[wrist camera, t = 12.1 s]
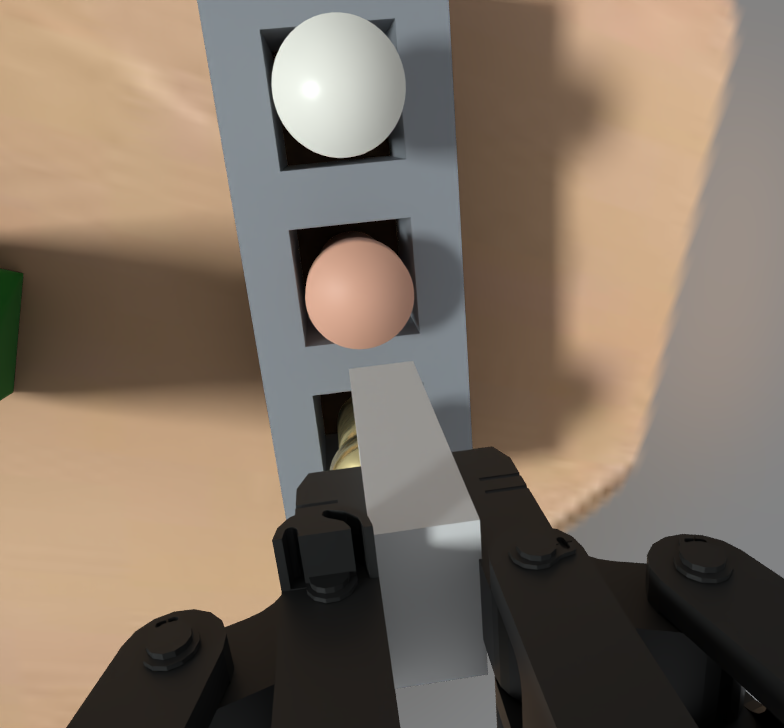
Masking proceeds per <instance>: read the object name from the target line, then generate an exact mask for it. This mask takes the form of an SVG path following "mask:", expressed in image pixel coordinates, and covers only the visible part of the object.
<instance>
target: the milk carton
mask: <svg viewBox="0 0 784 728" xmlns="http://www.w3.org/2000/svg"><path fill="white" fill-rule="evenodd" d="M22 285H23V273H19V272H15V271H10V270H6V269H1V268H0V400H2V399H4V398H5V397H7V396H8V395H10V394H11V393H13V389H14V377H15V366H16V354H17V342H18V331H19V319H20V308H21V296H22Z"/></svg>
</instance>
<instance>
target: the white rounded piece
mask: <svg viewBox="0 0 784 728" xmlns="http://www.w3.org/2000/svg"><path fill="white" fill-rule="evenodd" d="M405 94H406V81H405V73H404V69H403V65H402V62H401V59H400V57H399V54H398V52H397V51H396V49H395V47H394V45H393V44H392V42H391V41H390V40H389V38H388V37H387V36H386V35H385V34H384V33H383V32H382V31H381V30H380V29H379V28H378V27H376V26H375V25H374V24H372V23H371V22H369V21H368V20H366V19H363V18H361V17H359V16H356V15H352V14H349V13H341V12H331V13H325V14H320V15H317V16H314V17H312V18H310V19H308V20H306V21H304V22H303V23H301V24H300V25H298V26H297V27H296V28H295V29H294V30H293V31H292V32H291V33H290V34H289V35H288V36H287V37H286V39H285V40H284V42H283V43H282V45H281V47H280V49H279V51H278V53H277V55H276V58H275V62H274V65H273V71H272V95H273V100H274V104H275V107H276V110H277V113H278V115H279V117H280V119H281V121H282V123H283V124H284V126H285V127H286V129H287V130H288V131H289V133H290V134H291V135H292V136H293V137H294V138H295V139H296V140H297V141H298V142H299V143H301V144H302V145H303V146H305V147H306V148H308V149H310V150H311V151H313V152H316V153H318V154H321V155H324V156H328V157H335V158H348V157H354V156H358V155H361V154H364V153H366V152H368V151H370V150H372V149H374V148H375V147H377V146H378V145H379V144H381V143H382V142H383V141H384V140H385V139H386V138H387V137H388V136H389V135H390V133H391V132H392V131H393V129H394V128H395V126H396V124H397V122H398V120H399V118H400V116H401V113H402V110H403V106H404V102H405Z"/></svg>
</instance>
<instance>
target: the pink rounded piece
mask: <svg viewBox="0 0 784 728" xmlns="http://www.w3.org/2000/svg"><path fill="white" fill-rule="evenodd" d="M305 300H306V307H307V311H308V314H309V317H310V319H311V321H312V323H313V324H314V326H315V327H316V329H317V330H318V331H319V332H320V333H321V334H322V335H323V336H324V337H325V338H326V339H328V340H330V341H331V342H333V343H335V344H337V345H339V346H342V347H345V348H350V349H368V348H373V347H377V346H380V345H382V344H384V343H386V342H388V341H389V340H391V339H392V338H393V337H395V336H396V335H397V334H398V333H399V332H400V331H401V330H402V329H403V327H404V326H405V325H406V323H407V321H408V319H409V317H410V315H411V312H412V309H413V304H414V287H413V282H412V279H411V276H410V274H409V272H408V270H407V268H406V267H405V265H404V264H403V262H402V261H401V259H400V258H399V257H398V255H397V254H396V253H395V252H394V251H393V250H392V249H390V248H389V247H388V246H386V245H384V244H383V243H381V242H378V241H376V240H374V239H373V238H372V237H370V236H369V235H367V234H364V233H362V232H357V231H347V232H342V233H339V234H337V235H335V236H334V237H332V238H331V239H330V240H328V241H327V242H326V244H325V245H324V246H323V248H322V250H321V252H320V254H319V256H318V257H317V258H316V259H315V261H314V262H313V264H312V266H311V268H310V270H309V273H308V277H307V282H306V293H305Z"/></svg>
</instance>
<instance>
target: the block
mask: <svg viewBox="0 0 784 728" xmlns="http://www.w3.org/2000/svg"><path fill="white" fill-rule="evenodd" d="M197 3H198V8H199V14H200V20H201V26H202V32H203V37H204V43H205V49H206V55H207V61H208V67H209V72H210V78H211V84H212V90H213V96H214V102H215V107H216V113H217V119H218V125H219V131H220V136H221V142H222V148H223V154H224V160H225V166H226V171H227V177H228V183H229V189H230V195H231V200H232V206H233V212H234V218H235V224H236V230H237V235H238V241H239V247H240V253H241V259H242V265H243V270H244V276H245V282H246V288H247V294H248V299H249V305H250V311H251V317H252V323H253V329H254V334H255V340H256V346H257V352H258V358H259V364H260V369H261V375H262V381H263V387H264V393H265V398H266V404H267V410H268V416H269V422H270V428H271V433H272V439H273V445H274V451H275V457H276V463H277V468H278V474H279V480H280V486H281V492H282V497H283V503H284V509H285V515H286V520H287V519H288V518H290V517H292V516H294V515H295V509H296V491H297V488H298V486H299V485H300V484H301V483H302V481H303V480H304V479H305V477H306V476H307V475H308V473H314V472H321V471H329V470H330V466H331V463H332V460H333V458H334V456H335V454H336V452H337V451H338V450H339V443H338V433H335V434H328V435H325V428H324V421H323V414H322V406H321V399H320V395H322V394H330V393H338V392H346V391H351V383H350V375H349V369H353V368H361V367H369V366H377V365H385V364H393V363H401V362H409V361H413V362H414V365H415V367H416V370H417V372H418V374H419V377H420V379H421V381H422V384H423V386H424V389H425V391H426V393H427V396H428V398H429V400H430V403H431V405H432V408H433V410H434V412H435V415H436V417H437V419H438V422H439V424H440V426H441V429H442V431H443V434H444V436H445V438H446V441H447V443H448V445H449V448H450V450H451V452H456V451H463V450H470V449H473V448H472V429H471V411H470V392H469V373H468V354H467V335H466V317H465V298H464V279H463V260H462V241H461V223H460V204H459V185H458V166H457V147H456V129H455V110H454V91H453V72H452V53H451V35H450V16H449V0H197ZM331 12H341V13H349V14H352V15H356V16H359V17H361V18H363V19H366V20H368V21H369V22H371V23H372V24H374V25H375V26H376V27H378V28H379V29H380V30H381V31H382V32H383V33H384V34H385V35H386V36H387V37H388V38H389V40H390V41H391V42H392V44H393V45H394V47H395V49H396V51H397V52H398V54H399V57H400V59H401V62H402V65H403V69H404V73H405V81H406V94H405V102H404V106H403V110H402V113H401V116H400V118H399V120H398V122H397V124H396V126H395V128H394V129H393V131H392V132H391V133H390V135H389V136H388V140H389V152H390V156H380V157H370V158H359V159H349V160H339V161H329V162H319V163H309V164H299V165H289V166H288V163H287V156H286V149H285V142H284V135H283V128H282V121H281V119H280V117H279V115H278V113H277V110H276V107H275V104H274V100H273V95H272V71H273V65H274V63H273V56H272V52H278V51H279V49H280V47H281V45H282V43H283V42H284V40H285V39H286V37H287V36H288V35H289V34H290V33H291V32H292V31H293V30H294V29H295V28H296V27H297V26H298V25H300V24H301V23H303V22H304V21H306V20H308V19H310V18H312V17H314V16H317V15H320V14H325V13H331ZM389 219H395V221H396V232H397V243H398V255H399V258H400V259H401V261H402V262H403V264H404V265H405V267H406V268H407V270H408V272H409V274H410V276H411V279H412V282H413V287H414V304H413V309H412V312H411V315H410V317H409V319H408V321H407V323H406V325H405V326H404V327H403V329H402V330H401V331H400V332H399V333H398V334H397V335H396V336H395V337H393V338H392V339H391V340H389V341H388V342H386V343H384V344H382V345H380V346H377V347H373V348H368V349H350V348H345V347H342V346H339V345H337V344H335V343H333V342H331V341H330V340H328V339H326V338H325V337H324V336H323V335H322V334H321V333H320V332H319V331H318V330H317V329H316V327H315V326H314V324H313V323H312V321H311V319H310V317H309V314H308V311H307V307H306V300H305V293H306V292H305V285H304V278H303V271H302V263H301V256H300V249H299V242H298V235H297V229H304V228H314V227H323V226H332V225H342V224H351V223H361V222H370V221H380V220H389Z"/></svg>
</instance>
